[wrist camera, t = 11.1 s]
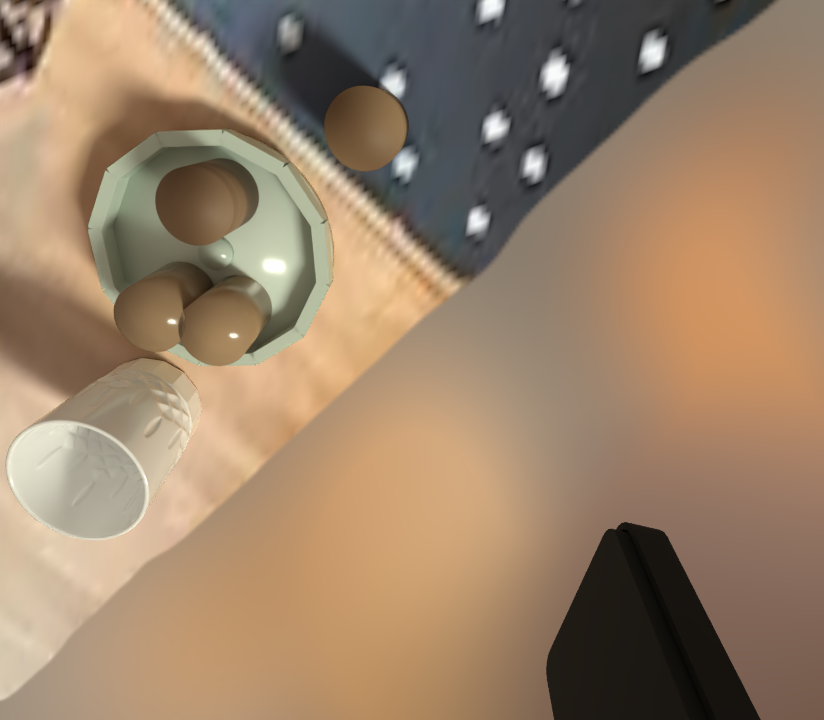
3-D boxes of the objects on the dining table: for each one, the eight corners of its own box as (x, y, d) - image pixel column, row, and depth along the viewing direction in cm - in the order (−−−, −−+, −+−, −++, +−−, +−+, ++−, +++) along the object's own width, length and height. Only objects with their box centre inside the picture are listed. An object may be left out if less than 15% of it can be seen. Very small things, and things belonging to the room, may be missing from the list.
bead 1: (263, 167, 35) (236, 177, 30) (254, 234, 37) (228, 253, 32) (194, 150, 35) (157, 157, 30) (188, 218, 36) (152, 235, 32)
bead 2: (384, 72, 34) (375, 68, 29) (421, 137, 35) (418, 143, 30) (325, 113, 35) (308, 115, 30) (364, 175, 36) (353, 186, 31)
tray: (241, 79, 34) (203, 74, 29) (376, 284, 39) (366, 315, 33) (65, 210, 38) (0, 229, 32) (207, 386, 42) (172, 429, 36)
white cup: (85, 352, 41) (-17, 424, 32) (197, 345, 41) (126, 416, 32) (116, 452, 44) (32, 543, 35) (221, 446, 44) (163, 538, 35)
